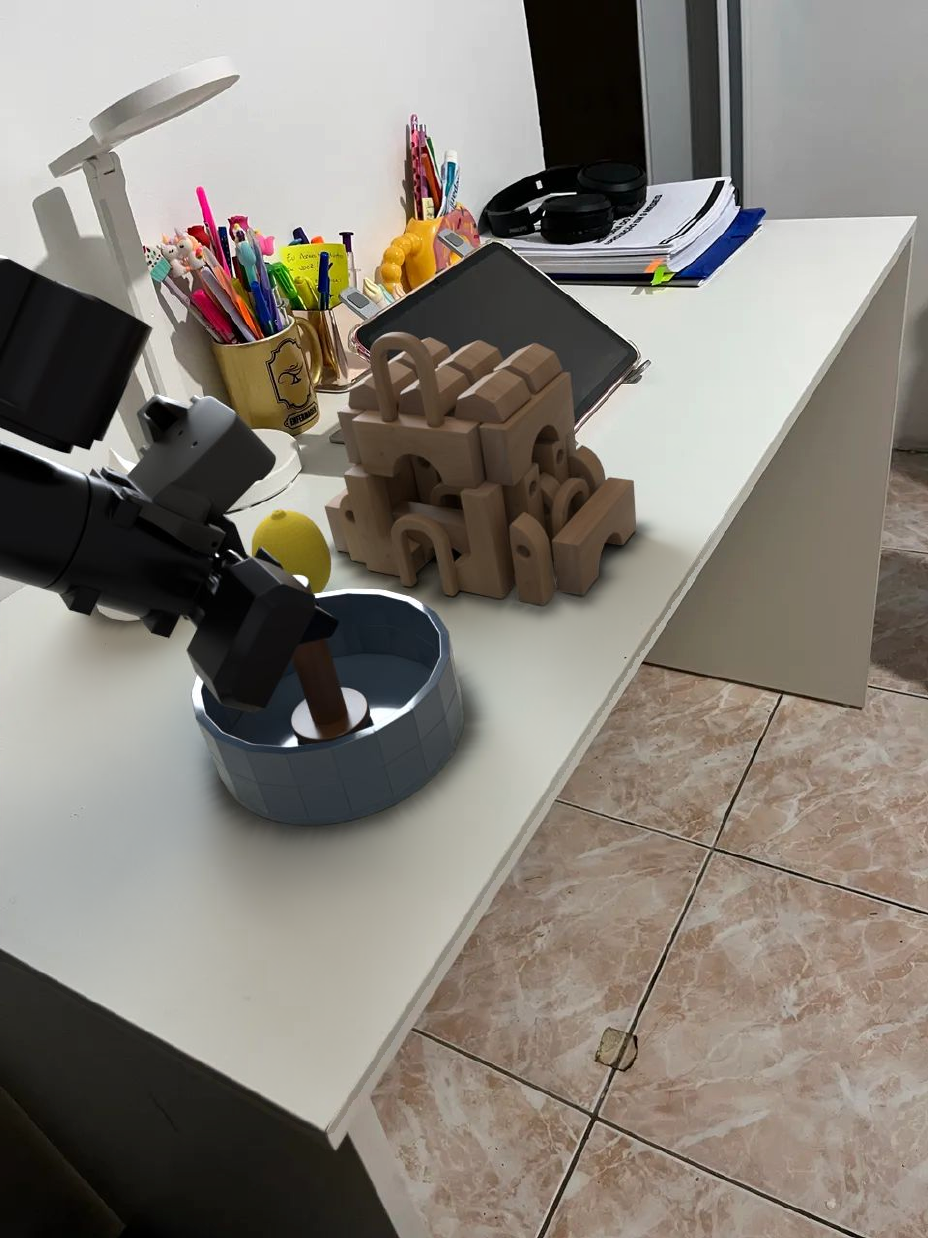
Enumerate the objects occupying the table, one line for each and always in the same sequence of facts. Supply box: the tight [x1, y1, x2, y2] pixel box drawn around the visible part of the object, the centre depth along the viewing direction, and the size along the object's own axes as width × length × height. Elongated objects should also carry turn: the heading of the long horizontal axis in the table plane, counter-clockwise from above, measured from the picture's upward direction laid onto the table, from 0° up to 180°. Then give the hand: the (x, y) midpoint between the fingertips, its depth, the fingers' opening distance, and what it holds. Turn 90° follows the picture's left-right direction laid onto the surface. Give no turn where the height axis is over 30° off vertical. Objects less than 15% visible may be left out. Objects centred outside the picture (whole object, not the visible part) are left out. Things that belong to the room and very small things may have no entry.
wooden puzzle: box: [323, 331, 637, 606], centre depth 69 cm, size 22×15×19 cm, turn 59°
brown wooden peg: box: [291, 575, 370, 745], centre depth 55 cm, size 5×5×10 cm
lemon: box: [251, 508, 332, 594], centre depth 69 cm, size 6×6×8 cm
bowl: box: [190, 588, 464, 826], centre depth 57 cm, size 15×15×6 cm
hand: (324, 619), depth 55 cm, fingers closed on brown wooden peg, 2 cm apart
